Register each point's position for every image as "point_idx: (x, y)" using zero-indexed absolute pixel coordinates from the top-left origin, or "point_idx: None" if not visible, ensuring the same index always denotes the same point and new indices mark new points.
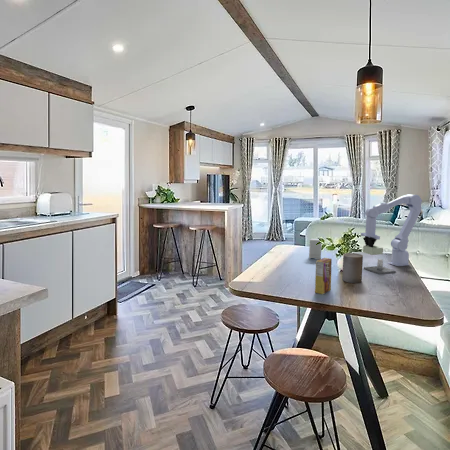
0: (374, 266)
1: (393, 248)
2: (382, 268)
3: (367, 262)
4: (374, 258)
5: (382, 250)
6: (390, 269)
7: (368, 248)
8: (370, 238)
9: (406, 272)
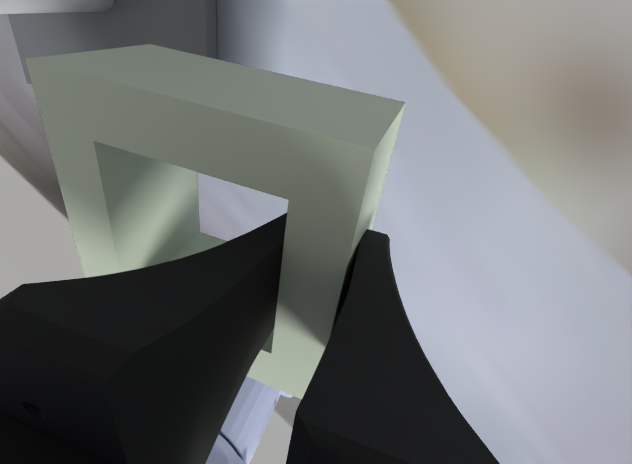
0: (200, 32)
1: (209, 455)
2: (110, 38)
3: (440, 210)
4: (500, 403)
5: None
6: None
7: (175, 84)
8: (49, 419)
9: (50, 168)
